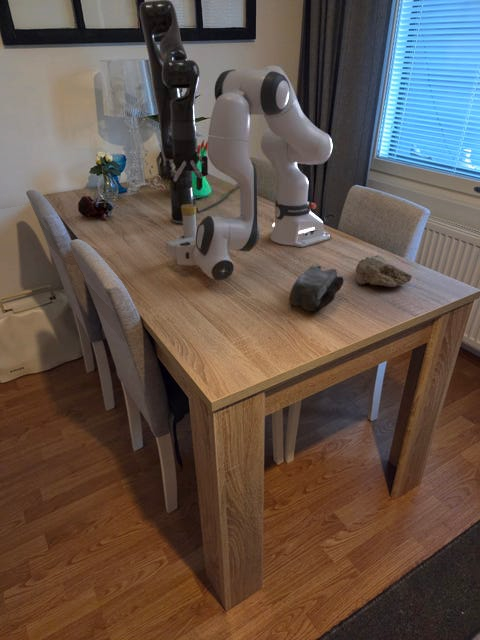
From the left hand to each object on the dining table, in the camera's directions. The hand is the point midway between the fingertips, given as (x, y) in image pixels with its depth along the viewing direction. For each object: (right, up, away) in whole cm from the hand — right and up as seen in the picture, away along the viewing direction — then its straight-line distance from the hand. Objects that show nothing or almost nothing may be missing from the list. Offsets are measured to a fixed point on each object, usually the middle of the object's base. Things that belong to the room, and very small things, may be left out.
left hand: (187, 191), depth 142 cm
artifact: (+60, -29, -4) cm, 66 cm away
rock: (+39, -36, -15) cm, 55 cm away
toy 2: (-7, +20, +74) cm, 77 cm away
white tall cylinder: (0, -19, +12) cm, 22 cm away
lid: (0, -4, +3) cm, 5 cm away
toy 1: (-44, +2, +45) cm, 63 cm away
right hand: (0, -13, +9) cm, 16 cm away
